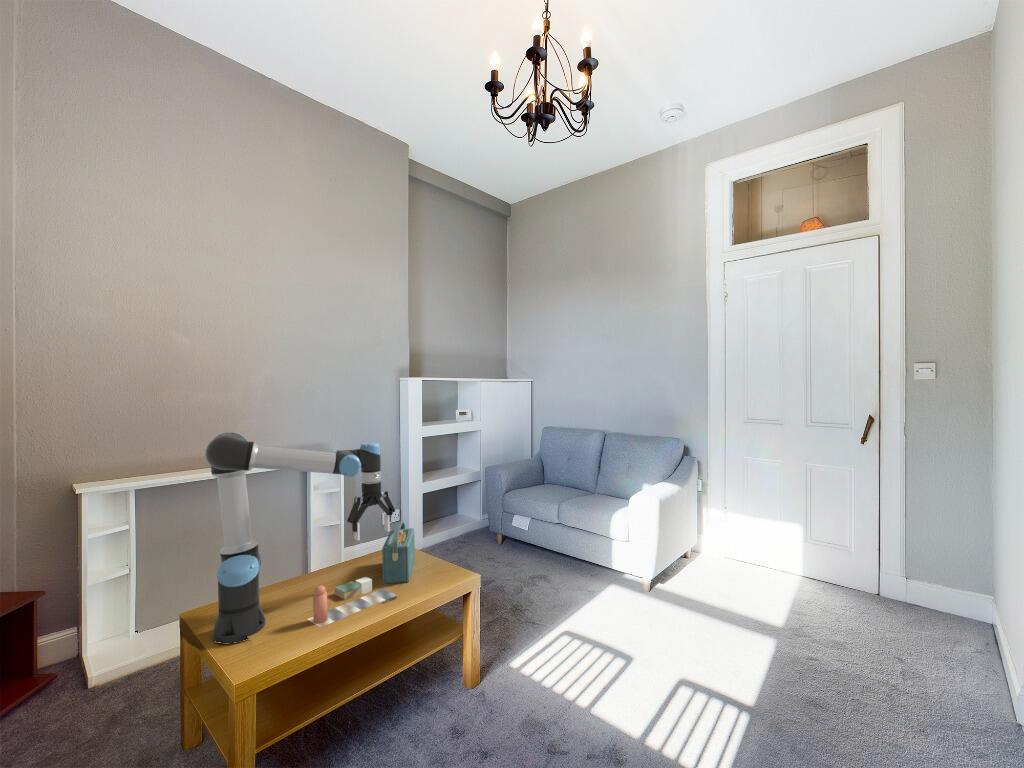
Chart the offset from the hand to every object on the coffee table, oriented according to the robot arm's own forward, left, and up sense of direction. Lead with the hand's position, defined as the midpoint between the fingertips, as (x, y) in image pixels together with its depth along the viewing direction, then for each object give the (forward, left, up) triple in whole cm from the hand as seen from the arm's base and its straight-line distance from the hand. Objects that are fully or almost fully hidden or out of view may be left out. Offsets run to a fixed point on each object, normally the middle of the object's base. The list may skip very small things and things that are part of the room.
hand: (372, 535), depth 186 cm
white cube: (-7, 0, -19) cm, 20 cm away
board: (-15, -11, -21) cm, 28 cm away
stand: (-11, 0, -21) cm, 23 cm away
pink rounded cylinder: (-28, -11, -20) cm, 35 cm away
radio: (+16, +5, -21) cm, 27 cm away
